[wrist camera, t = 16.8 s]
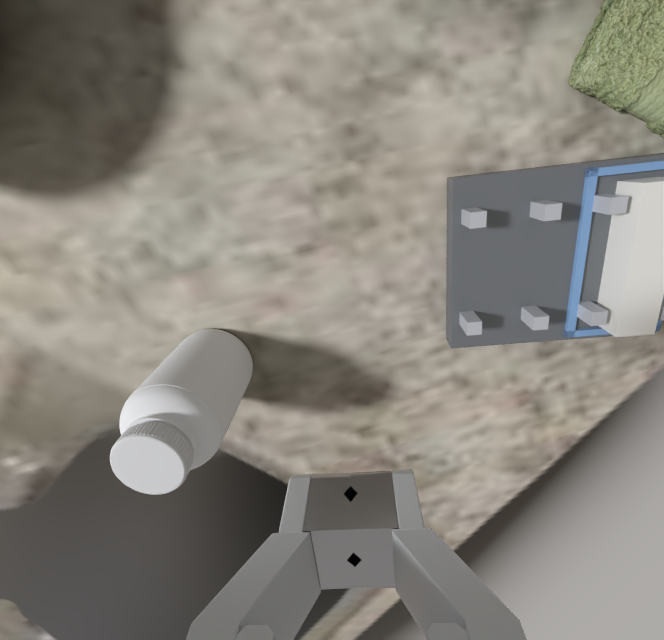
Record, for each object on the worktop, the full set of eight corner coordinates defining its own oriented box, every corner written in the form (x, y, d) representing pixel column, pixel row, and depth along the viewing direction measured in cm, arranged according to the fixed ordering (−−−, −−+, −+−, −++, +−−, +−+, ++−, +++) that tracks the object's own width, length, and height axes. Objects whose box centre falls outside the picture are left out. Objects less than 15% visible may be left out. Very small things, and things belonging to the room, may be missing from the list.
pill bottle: (270, 366, 39) (227, 475, 26) (218, 405, 42) (152, 526, 28) (215, 310, 37) (136, 398, 23) (163, 355, 40) (63, 459, 26)
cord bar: (617, 181, 29) (645, 182, 27) (658, 176, 29) (691, 178, 26) (594, 323, 34) (615, 337, 31) (629, 320, 34) (654, 334, 31)
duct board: (447, 177, 32) (461, 179, 27) (677, 151, 30) (729, 149, 26) (446, 338, 37) (458, 361, 33) (640, 324, 36) (678, 345, 32)
